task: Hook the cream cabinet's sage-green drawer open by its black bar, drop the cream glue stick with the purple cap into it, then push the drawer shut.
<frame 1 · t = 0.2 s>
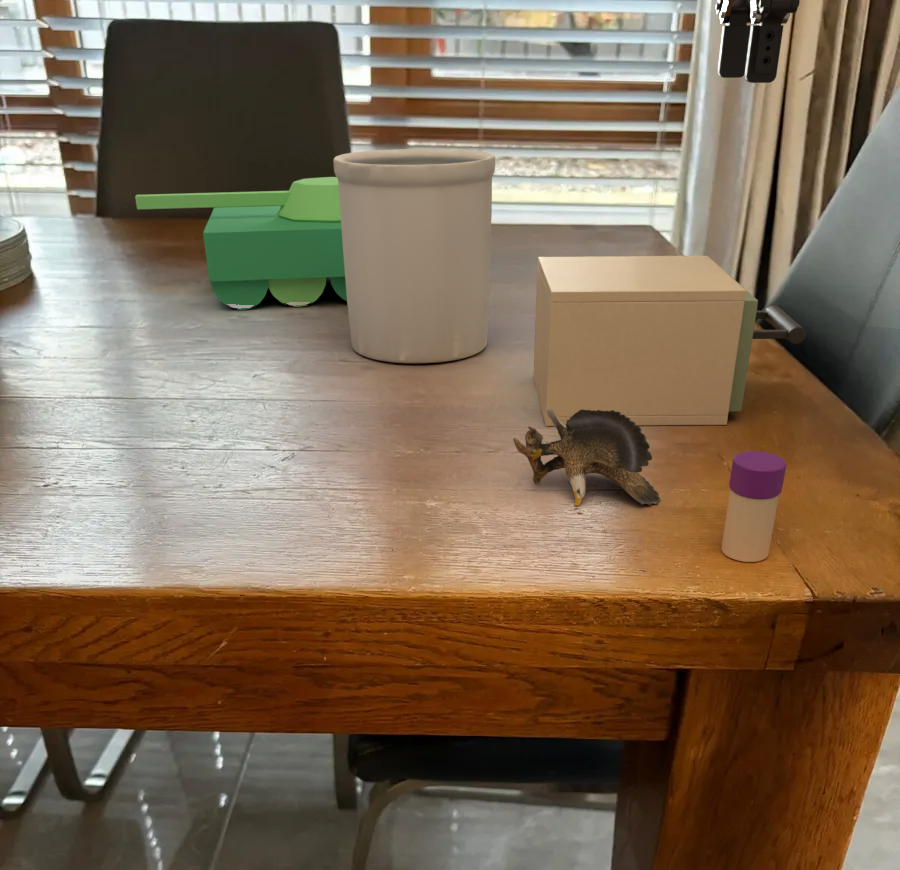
hand: (744, 79, 77), 24 cm above the table, tool pointing down, fingers open, 8 cm apart
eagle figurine: (588, 496, 67), on the table
drawer: (679, 337, 81), point 5 cm above the table, slide at 0.0 cm
toy tank: (299, 293, 118), on the table
utensil holder: (419, 346, 99), on the table
cabinet: (623, 399, 84), on the table
glue stick: (744, 551, 60), on the table
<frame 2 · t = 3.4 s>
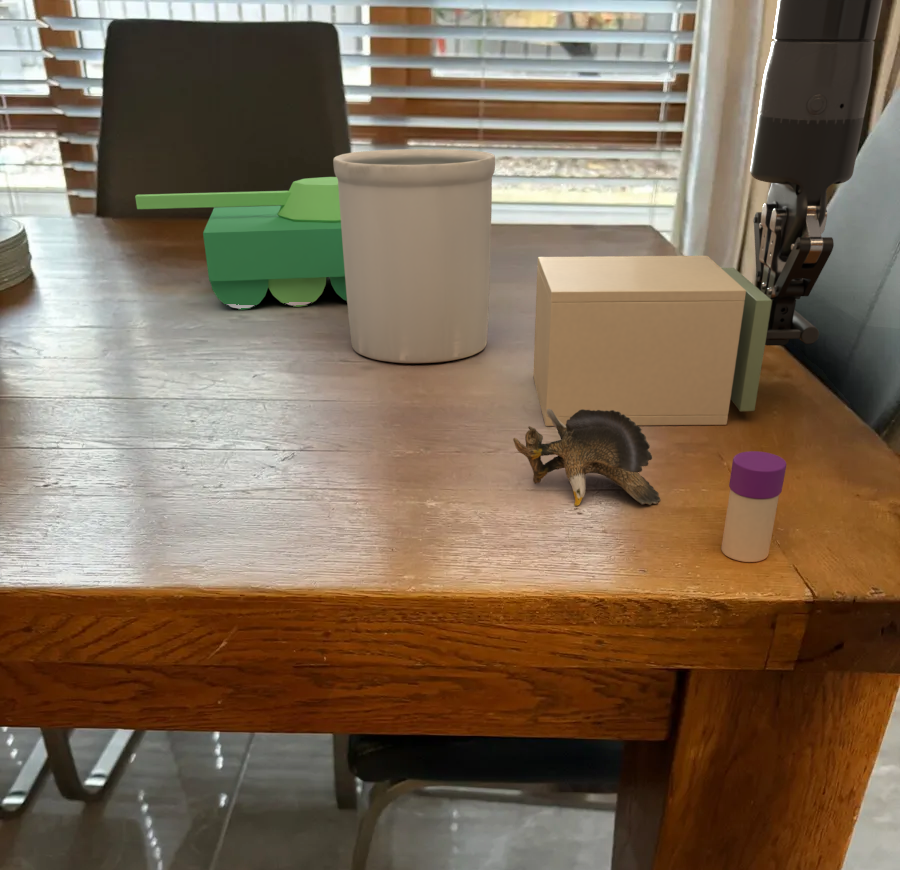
hand: (772, 342, 81), 5 cm above the table, tool pointing down, fingers closed
drawer: (692, 337, 81), point 5 cm above the table, slide at 1.1 cm, touching gripper
everything else where it was.
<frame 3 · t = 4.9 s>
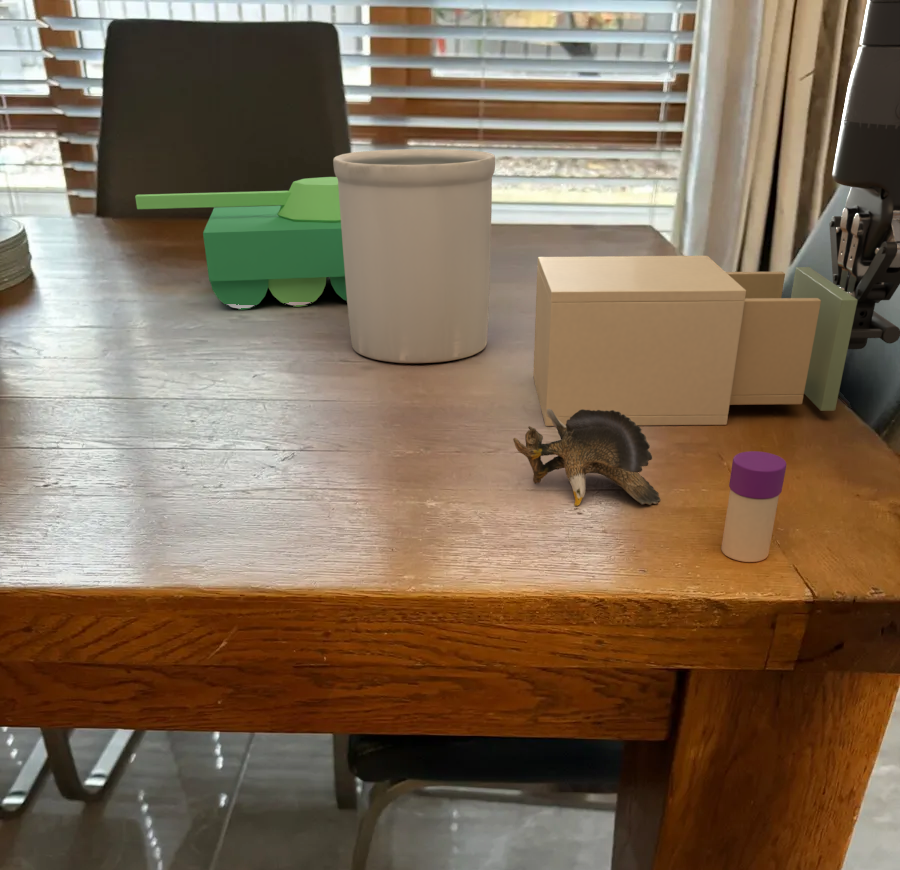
hand: (849, 346, 82), 4 cm above the table, tool pointing down, fingers closed
drawer: (770, 336, 81), point 5 cm above the table, slide at 7.5 cm, touching gripper
everything else where it was.
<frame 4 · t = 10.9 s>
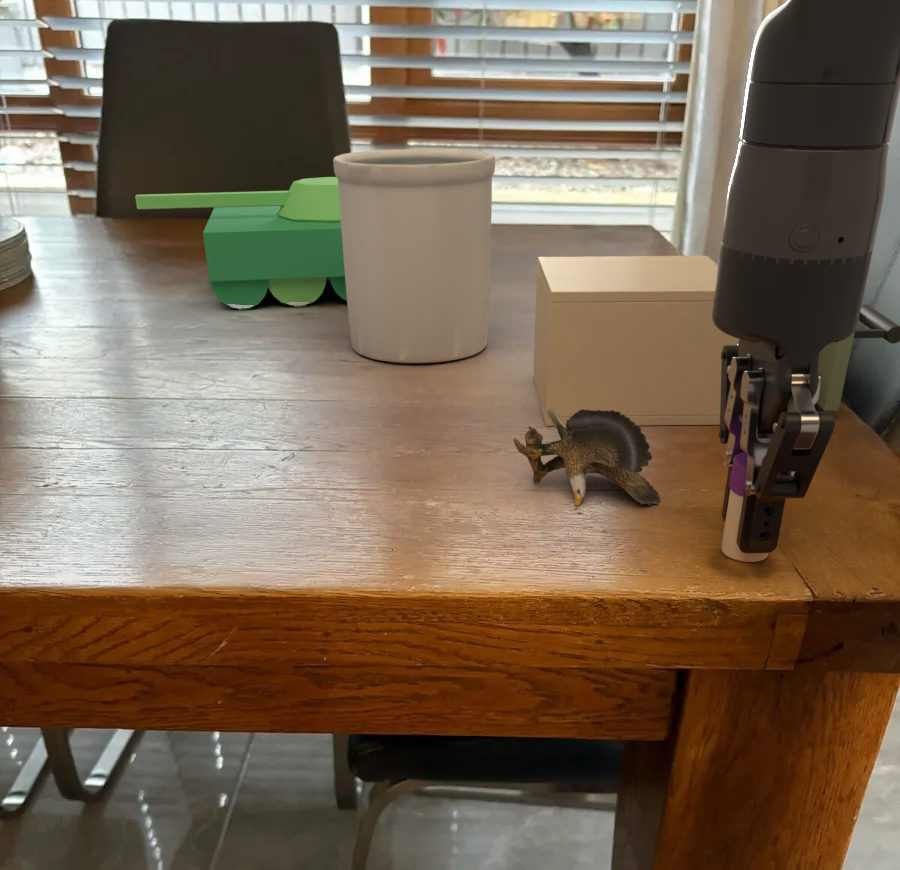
hand: (747, 535, 59), 1 cm above the table, tool pointing down, fingers closed on glue stick, 3 cm apart
drawer: (773, 336, 81), point 5 cm above the table, slide at 7.8 cm
glue stick: (744, 551, 60), on the table, touching gripper
everything else where it was.
when the fingers open (11 cm above the table, at t = 16.9 s): glue stick drops 8 cm, resting on drawer.
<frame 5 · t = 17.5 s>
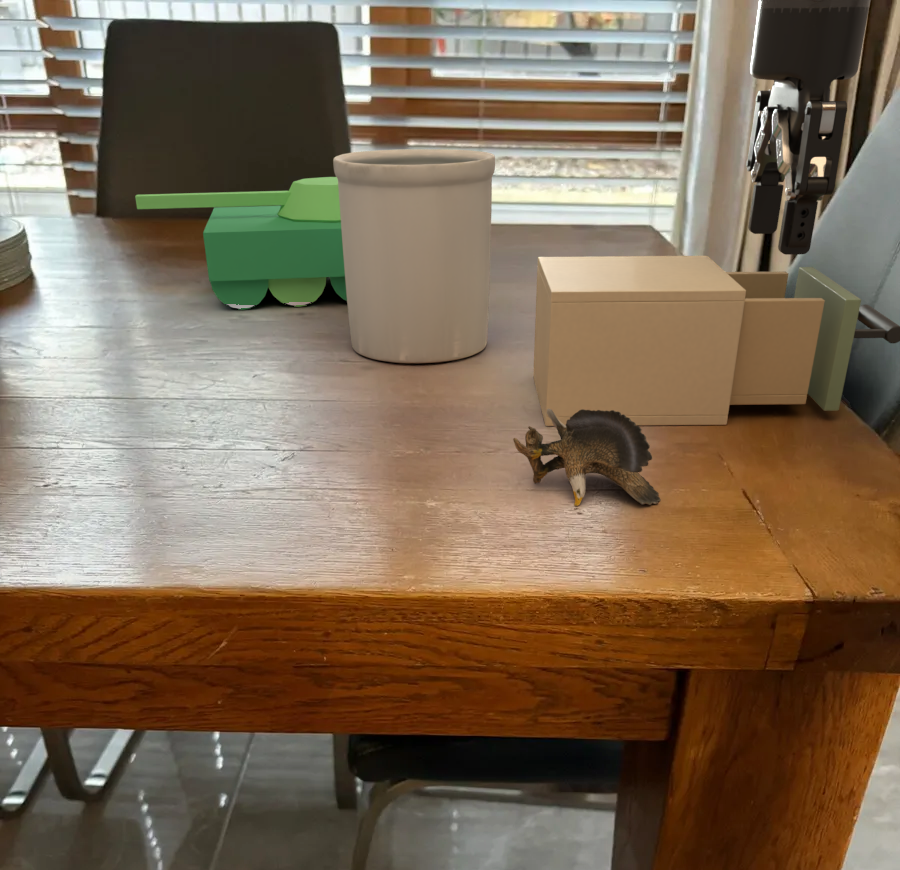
hand: (776, 242, 77), 13 cm above the table, tool pointing down, fingers open, 8 cm apart
drawer: (773, 336, 81), point 5 cm above the table, slide at 7.8 cm, touching glue stick
glue stick: (756, 375, 82), point 2 cm above the table, tilted 7°, touching drawer
everything else where it was.
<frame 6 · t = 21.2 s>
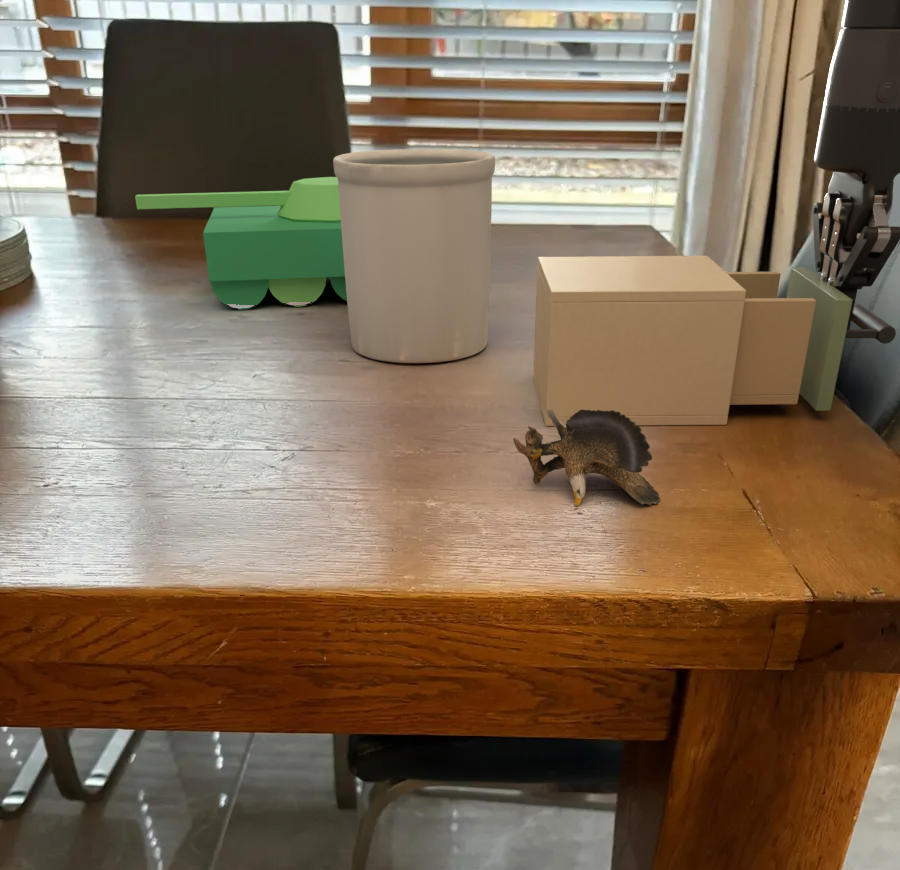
hand: (831, 333, 81), 6 cm above the table, tool pointing down, fingers closed
drawer: (765, 337, 81), point 5 cm above the table, slide at 7.2 cm, touching glue stick, gripper
glue stick: (748, 377, 82), point 2 cm above the table, touching drawer
everything else where it was.
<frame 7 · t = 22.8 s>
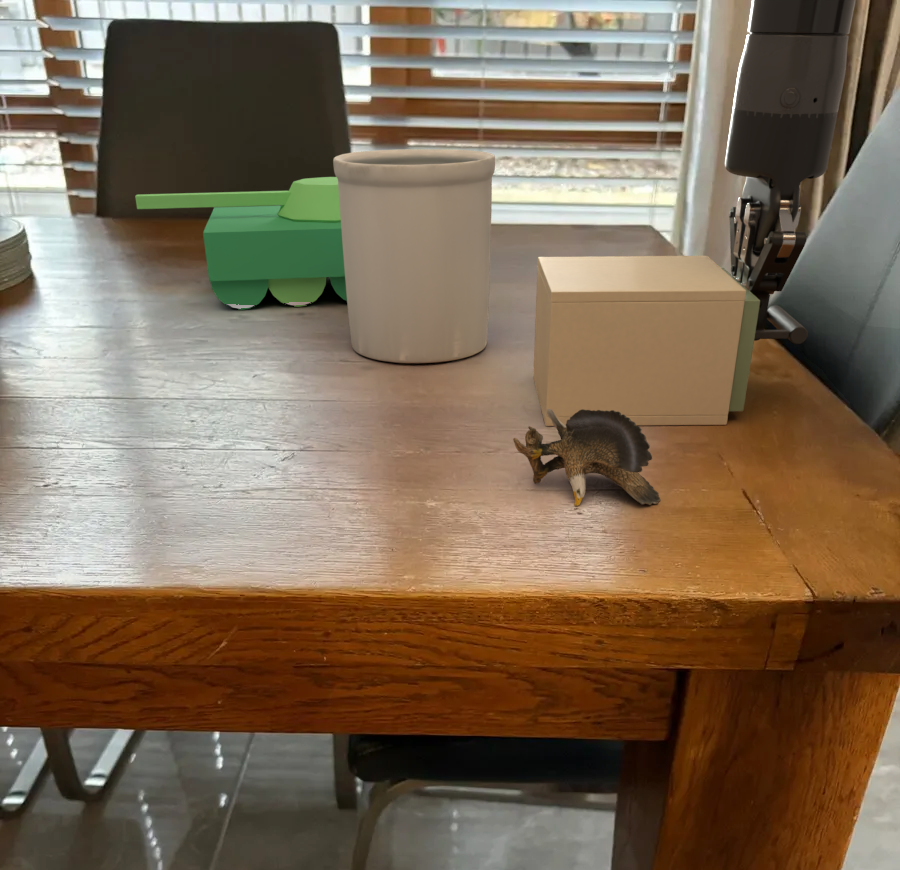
hand: (746, 337, 81), 5 cm above the table, tool pointing down, fingers closed
drawer: (681, 337, 81), point 5 cm above the table, slide at 0.2 cm, touching glue stick, gripper, hand
glue stick: (665, 378, 82), point 2 cm above the table, touching drawer
everything else where it was.
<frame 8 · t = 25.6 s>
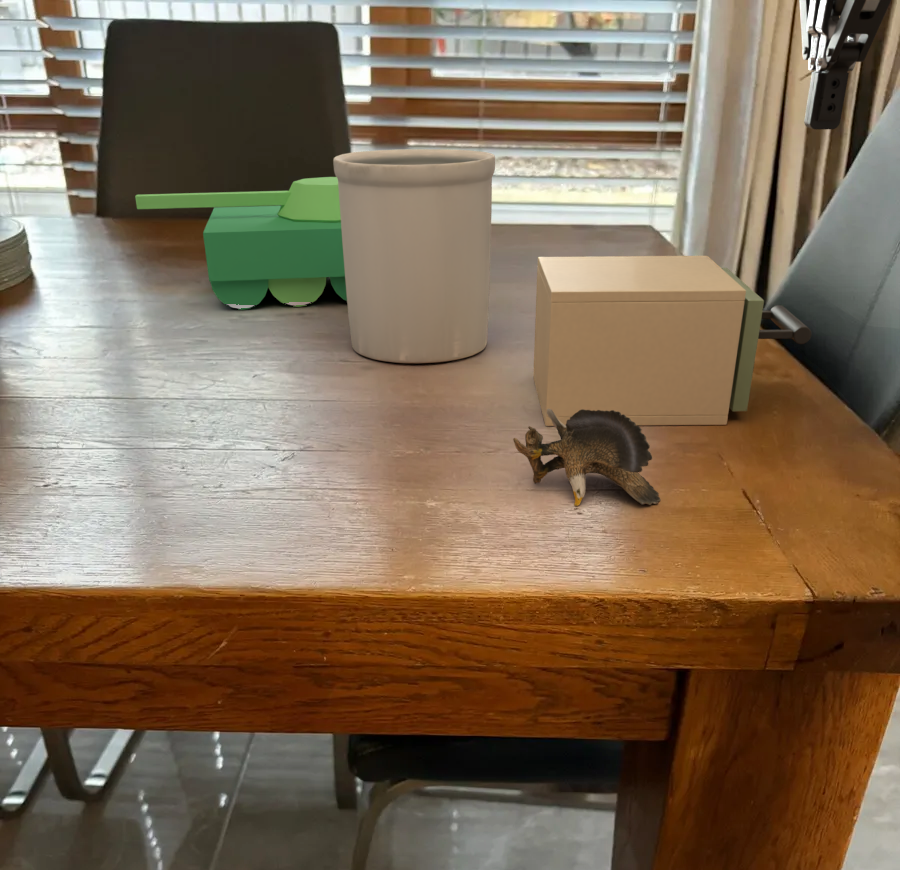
hand: (820, 128, 73), 21 cm above the table, tool pointing down, fingers closed
drawer: (685, 337, 81), point 5 cm above the table, slide at 0.4 cm, touching glue stick
everything else where it was.
at the end: drawer pulled out 7.8 cm at the most during the clip, back to 0.4 cm at the end; glue stick inside the target area in the cabinet (3.6 cm from its centre), point 2.0 cm above the cabinet's base; drawer slide at 0.4 cm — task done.
